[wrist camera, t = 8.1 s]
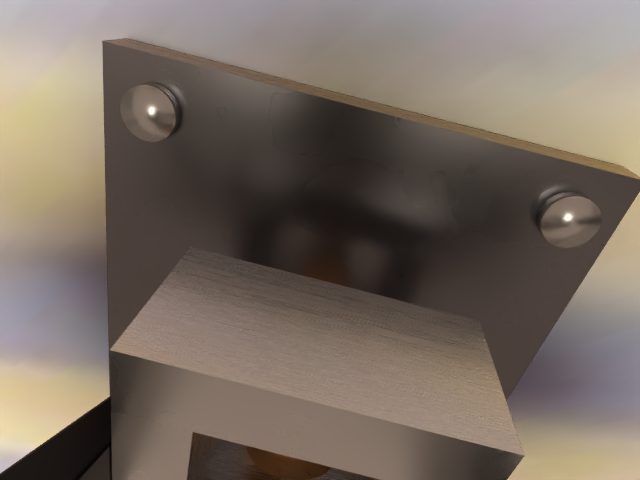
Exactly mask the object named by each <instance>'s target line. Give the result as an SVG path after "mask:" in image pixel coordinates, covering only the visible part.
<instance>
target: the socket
mask: <svg viewBox="0 0 640 480" xmlns="http://www.w3.org/2000/svg"><path fill="white" fill-rule="evenodd" d="M110 388H111V442H112V480H290V479H284V478H280V477H277V476H274V475H272V474H270V473H268V472H266V471H264V470H262V469H261V468H260V467H258V466H257V465H256V464H255V463H254V462H253V461H252V459H251V458H250V456H249V455H248V452H247V449H246V446H250V447H254V448H258V449H262V450H266V451H270V452H274V453H278V454H281V455H285V456H289V457H293V458H297V459H301V460H305V461H309V462H313V463H317V464H321V465H325V466H329V467H331V469H330V470H329V471H328V472H326V473H325V474H323V475H321V476H319V477H316V478H313V479H308V480H507V479H508V477H509V476H510V475H511V473H512V472H513V471H514V469H515V468H516V467H517V465H518V464H519V462H520V461H521V460H522V458H523V457H524V453H523V450H522V447H521V444H520V441H519V438H518V435H517V432H516V429H515V426H514V423H513V420H512V417H511V414H510V411H509V408H508V405H507V402H506V399H505V396H504V393H503V390H502V387H501V384H500V381H499V378H498V375H497V372H496V369H495V366H494V363H493V360H492V357H491V354H490V351H489V348H488V345H487V342H486V339H485V336H484V333H483V330H482V327H481V324H480V321H478V320H474V319H470V318H466V317H462V316H458V315H454V314H450V313H446V312H443V311H439V310H435V309H431V308H427V307H423V306H419V305H415V304H411V303H408V302H404V301H400V300H396V299H392V298H388V297H384V296H380V295H376V294H373V293H369V292H365V291H361V290H357V289H353V288H349V287H345V286H341V285H338V284H334V283H330V282H326V281H322V280H318V279H314V278H310V277H307V276H303V275H299V274H295V273H291V272H287V271H283V270H279V269H275V268H272V267H268V266H264V265H260V264H256V263H252V262H248V261H244V260H240V259H237V258H233V257H229V256H225V255H221V254H217V253H213V252H209V251H205V250H202V249H198V248H194V247H190V249H189V250H188V251H187V253H186V254H185V255H184V256H183V258H182V259H181V260H180V261H179V263H178V264H177V265H176V266H175V268H174V269H173V270H172V272H171V273H170V274H169V275H168V277H167V278H166V279H165V280H164V282H163V283H162V284H161V286H160V287H159V288H158V289H157V291H156V292H155V293H154V294H153V296H152V297H151V298H150V300H149V301H148V302H147V303H146V305H145V306H144V307H143V308H142V310H141V311H140V312H139V313H138V315H137V316H136V317H135V319H134V320H133V321H132V322H131V324H130V325H129V326H128V327H127V329H126V330H125V331H124V333H123V334H122V335H121V336H120V338H119V339H118V340H117V341H116V343H115V344H114V345H113V346H112V348H111V349H110Z"/></svg>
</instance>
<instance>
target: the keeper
mask: <svg viewBox="0 0 640 480" xmlns="http://www.w3.org/2000/svg"><path fill="white" fill-rule="evenodd" d="M103 87H104V136H105V184H106V232H107V281H108V329H109V377H110V349H111V348H112V346H113V345H114V344H115V343H116V341H117V340H118V339H119V338H120V336H121V335H122V334H123V333H124V331H125V330H126V329H127V327H128V326H129V325H130V324H131V322H132V321H133V320H134V319H135V317H136V316H137V315H138V313H139V312H140V311H141V310H142V308H143V307H144V306H145V305H146V303H147V302H148V301H149V300H150V298H151V297H152V296H153V294H154V293H155V292H156V291H157V289H158V288H159V287H160V286H161V284H162V283H163V282H164V280H165V279H166V278H167V277H168V275H169V274H170V273H171V272H172V270H173V269H174V268H175V266H176V265H177V264H178V263H179V261H180V260H181V259H182V258H183V256H184V255H185V254H186V253H187V251H188V250H189V249H190V247H194V248H198V249H202V250H205V251H209V252H213V253H217V254H221V255H225V256H229V257H233V258H237V259H240V260H244V261H248V262H252V263H256V264H260V265H264V266H268V267H272V268H275V269H279V270H283V271H287V272H291V273H295V274H299V275H303V276H307V277H310V278H314V279H318V280H322V281H326V282H330V283H334V284H338V285H341V286H345V287H349V288H353V289H357V290H361V291H365V292H369V293H373V294H376V295H380V296H384V297H388V298H392V299H396V300H400V301H404V302H408V303H411V304H415V305H419V306H423V307H427V308H431V309H435V310H439V311H443V312H446V313H450V314H454V315H458V316H462V317H466V318H470V319H474V320H478V321H480V324H481V327H482V330H483V333H484V336H485V339H486V342H487V345H488V348H489V351H490V354H491V357H492V360H493V363H494V366H495V369H496V372H497V375H498V378H499V381H500V384H501V387H502V390H503V393H504V396H505V399H506V400H507V398H508V397H509V395H510V394H511V392H512V390H513V389H514V387H515V386H516V384H517V383H518V381H519V379H520V378H521V376H522V375H523V373H524V372H525V370H526V369H527V367H528V365H529V364H530V362H531V361H532V359H533V358H534V356H535V354H536V353H537V351H538V350H539V348H540V347H541V345H542V343H543V342H544V340H545V339H546V337H547V336H548V334H549V333H550V331H551V329H552V328H553V326H554V325H555V323H556V322H557V320H558V318H559V317H560V315H561V314H562V312H563V311H564V309H565V307H566V306H567V304H568V303H569V301H570V300H571V298H572V297H573V295H574V293H575V292H576V290H577V289H578V287H579V286H580V284H581V282H582V281H583V279H584V278H585V276H586V275H587V273H588V271H589V270H590V268H591V267H592V265H593V264H594V262H595V261H596V259H597V257H598V256H599V254H600V253H601V251H602V250H603V248H604V246H605V245H606V243H607V242H608V240H609V239H610V237H611V235H612V234H613V232H614V231H615V229H616V228H617V226H618V225H619V223H620V221H621V220H622V218H623V217H624V215H625V214H626V212H627V210H628V209H629V207H630V206H631V204H632V203H633V201H634V199H635V198H636V196H637V195H638V193H639V192H640V177H639V176H637V175H636V174H634V173H632V172H631V171H629V170H628V169H626V168H624V167H623V166H619V165H615V164H611V163H607V162H603V161H600V160H596V159H592V158H588V157H584V156H580V155H576V154H572V153H569V152H565V151H561V150H557V149H553V148H549V147H545V146H541V145H538V144H534V143H530V142H526V141H522V140H518V139H514V138H510V137H507V136H503V135H499V134H495V133H491V132H487V131H483V130H479V129H476V128H472V127H468V126H464V125H460V124H456V123H452V122H449V121H445V120H441V119H437V118H433V117H429V116H425V115H421V114H418V113H414V112H410V111H406V110H402V109H398V108H394V107H390V106H387V105H383V104H379V103H375V102H371V101H367V100H363V99H359V98H356V97H352V96H348V95H344V94H340V93H336V92H332V91H328V90H325V89H321V88H317V87H313V86H309V85H305V84H301V83H297V82H294V81H290V80H286V79H282V78H278V77H274V76H270V75H266V74H263V73H259V72H255V71H251V70H247V69H243V68H239V67H235V66H232V65H228V64H224V63H220V62H216V61H212V60H208V59H205V58H201V57H197V56H193V55H189V54H185V53H181V52H177V51H174V50H170V49H166V48H162V47H158V46H154V45H150V44H146V43H143V42H139V41H135V40H131V39H127V38H125V39H116V40H106V41H103ZM110 396H111V388H110ZM246 449H247V452H248V455H249V456H250V458H251V459H252V461H253V462H254V463H255V464H256V465H257V466H258V467H260V468H261V469H262V470H264V471H266V472H268V473H270V474H272V475H274V476H277V477H280V478H284V479H290V480H308V479H313V478H316V477H319V476H321V475H323V474H325V473H326V472H328V471H329V470H330V469H331V467H329V466H325V465H321V464H317V463H313V462H309V461H305V460H301V459H297V458H293V457H289V456H285V455H281V454H278V453H274V452H270V451H266V450H262V449H258V448H254V447H250V446H246Z"/></svg>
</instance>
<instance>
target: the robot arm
mask: <svg viewBox="0 0 640 480" xmlns="http://www.w3.org/2000/svg"><path fill="white" fill-rule="evenodd" d="M0 480H112V442H111V396H110V397H108V398H107V399H106V400H104V401H103V402H101V403H100V404H98V405H97V406H96V407H94V408H93V409H91V410H90V411H88V412H87V413H86V414H84V415H83V416H81V417H80V418H79V419H77V420H76V421H74V422H73V423H71V424H70V425H69V426H67V427H66V428H64V429H63V430H61V431H60V432H59V433H57V434H56V435H54V436H53V437H51V438H50V439H49V440H47V441H46V442H44V443H43V444H42V445H40V446H39V447H37V448H36V449H34V450H33V451H32V452H30V453H29V454H27V455H26V456H24V457H23V458H22V459H20V460H19V461H17V462H16V463H15V464H13V465H12V466H10V467H9V468H7V469H6V470H5V471H3V472H2V473H0Z"/></svg>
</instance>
